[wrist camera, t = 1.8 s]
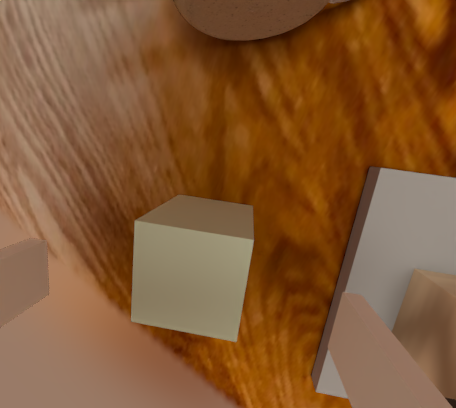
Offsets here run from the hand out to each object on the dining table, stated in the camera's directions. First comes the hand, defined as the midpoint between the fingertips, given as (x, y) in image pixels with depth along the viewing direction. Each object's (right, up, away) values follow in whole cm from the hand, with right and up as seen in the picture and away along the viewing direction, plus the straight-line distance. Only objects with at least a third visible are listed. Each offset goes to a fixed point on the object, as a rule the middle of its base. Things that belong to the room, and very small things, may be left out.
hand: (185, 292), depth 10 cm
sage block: (+1, +2, +6) cm, 6 cm away
